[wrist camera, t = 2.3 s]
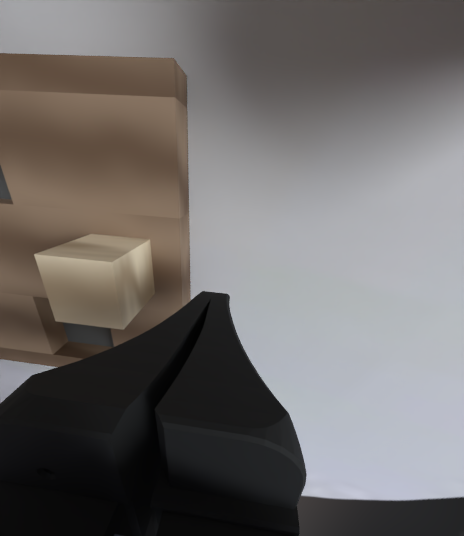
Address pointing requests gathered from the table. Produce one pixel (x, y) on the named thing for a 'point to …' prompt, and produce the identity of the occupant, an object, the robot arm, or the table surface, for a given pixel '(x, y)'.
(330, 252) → the table surface
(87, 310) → the maple block
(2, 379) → the table surface
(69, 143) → the board
